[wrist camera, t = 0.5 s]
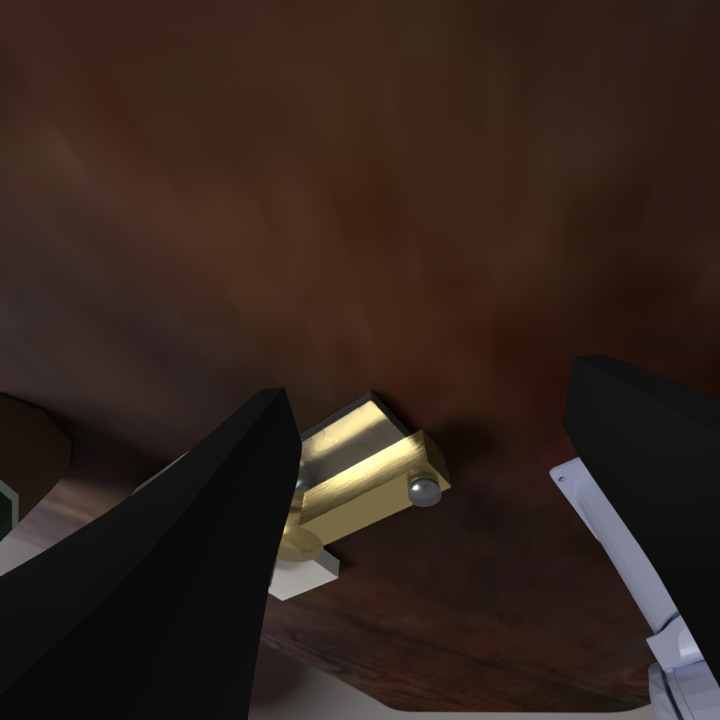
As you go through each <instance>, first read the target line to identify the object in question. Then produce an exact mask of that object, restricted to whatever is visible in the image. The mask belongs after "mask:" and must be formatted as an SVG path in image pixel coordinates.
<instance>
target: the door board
mask: <svg viewBox="0 0 720 720" xmlns="http://www.w3.org/2000/svg"><path fill="white" fill-rule="evenodd" d="M188 452H189V451H188ZM188 452H187V453H188ZM185 454H186V453H185ZM185 454H184V455H185ZM184 455H183V456H184ZM183 456H181V457H183ZM181 457H180V458H181ZM180 458H178V459H177V460H175V461H174V462H173V463H171V464H170V465H168V466H167V467H166V468H164V469H163V470H161V471H160V472H158V473H157V474H156V475H154V476H153V477H151V478H150V479H149V480H147V481H146V482H144V483H143V484H141V485H140V486H139V487H137V488H136V489H135V491H134V492H133V493H132V495H133V494H134V493H135V492H137V491H138V490H140V489H141V488H143V487H144V486H145V485H147V484H148V483H149V482H151V481H152V480H153V479H155V478H156V477H157V476H159V475H160V474H161V473H163V472H164V471H165V470H167V469H168V468H169V467H170V466H172V465H173V464H174V463H175V462H177V461H178V460H179V459H180ZM339 562H340V561H339V560H338V559H336V558H335V557H334V556H332V555H331V554H330V553H328V552H327V551H326V550H324V549H323V551H322V553H321V554H320V555H319V556H318V557H317V558H315V559H313V560H311V561H307V562H289V561H284V560H281V559H279V558H276V561H275V564H274V568H273V573H272V577H271V581H270V585H269V590H268V592H269V593H270V594H272V595H274V596H275V597H277V598H279V599H280V600H282V601H283V600H285V599H288V598H290V597H293V596H295V595H298V594H300V593H303V592H305V591H307V590H310V589H312V588H315V587H317V586H320V585H322V584H324V583H327V582H329V581H332V580H334V579H337V578H338V574H339Z"/></svg>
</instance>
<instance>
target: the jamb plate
mask: <svg viewBox="0 0 720 720" xmlns="http://www.w3.org/2000/svg"><path fill="white" fill-rule="evenodd" d="M410 435H412V434H411V433H410V432H409V431H408V430H407V429H406V427H405V426H404V425H403V424H402V423H401V422H400V421H399V420H398V419H397V418H396V417H395V416H394V414H393V413H392V412H391V411H390V410H389V409H388V408H387V407H386V406H385V405H384V404H383V403H382V401H381V400H380V399H379V398H378V397H377V396H376V395H375V394H374V393H373V392H372V391H369V392H367V393H366V394H364V395H363V396H361V397H359V398H358V399H356V400H355V401H353V402H351V403H350V404H348V405H347V406H345V407H343V408H342V409H340V410H339V411H337V412H335V413H334V414H332V415H331V416H329V417H327V418H326V419H324V420H323V421H321V422H319V423H318V424H316V425H315V426H313V427H311V428H310V429H308V430H306V431H305V432H303V433H302V434H300V435H299V436H300V439H301V442H302V453H301V461H300V468H299V475H298V481H297V485H296V489H295V492H297V491H298V492H307V491H308V490H310V489H312V488H314V487H316V486H318V485H319V484H321V483H323V482H325V481H327V480H329V479H331V478H332V477H334V476H336V475H338V474H340V473H342V472H343V471H345V470H347V469H349V468H351V467H353V466H355V465H356V464H358V463H360V462H362V461H364V460H366V459H367V458H369V457H371V456H373V455H375V454H377V453H378V452H380V451H382V450H384V449H386V448H388V447H390V446H391V445H393V444H395V443H397V442H399V441H401V440H402V439H404V438H406V437H408V436H410Z"/></svg>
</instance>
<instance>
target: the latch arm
mask: <svg viewBox="0 0 720 720" xmlns="http://www.w3.org/2000/svg"><path fill="white" fill-rule="evenodd" d="M450 487H451V483H450V479H449V475H448V470H447V466H446V462H445V458H444V453H443V452H442V451H441V449H440V448H439V447H438V446H437V445H436V444H435V443H434V442H433V441H432V439H431V438H430V437H429V436H428V435H427V434H426V433H425V432H424V431H423V429H421V430H419V431H417V432H415V433H414V434H412V435H410V436H408V437H406V438H404V439H402V440H401V441H399V442H397V443H395V444H393V445H391V446H390V447H388V448H386V449H384V450H382V451H380V452H378V453H377V454H375V455H373V456H371V457H369V458H367V459H366V460H364V461H362V462H360V463H358V464H356V465H355V466H353V467H351V468H349V469H347V470H345V471H343V472H342V473H340V474H338V475H336V476H334V477H332V478H331V479H329V480H327V481H325V482H323V483H321V484H319V485H318V486H316V487H314V488H312V489H310V490H308V491H307V492H298V491H297V492H294V496H293V500H292V503H291V507H290V511H289V514H288V518H287V521H286V525H285V529H284V532H283V536H282V539H281V543H280V547H279V550H278V554H277V557H276V558H279V559H281V560H284V561H289V562H307V561H311V560H313V559H315V558H317V557H318V556H319V555H320V554H321V553H322V551H323V546H324V545H326V544H328V543H331V542H333V541H335V540H337V539H339V538H341V537H344V536H346V535H348V534H350V533H352V532H355V531H357V530H359V529H361V528H363V527H365V526H368V525H370V524H372V523H374V522H376V521H378V520H381V519H383V518H385V517H387V516H389V515H392V514H394V513H396V512H398V511H400V510H402V509H405V508H407V507H409V506H411V505H413V504H414V505H417V506H421V507H428V506H432V505H434V504H436V503H438V502H439V501H440V499H441V492H442V491H444V490H446V489H448V488H450Z"/></svg>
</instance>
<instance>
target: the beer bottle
mask: <svg viewBox="0 0 720 720" xmlns="http://www.w3.org/2000/svg"><path fill="white" fill-rule="evenodd" d="M71 449H72V439H71V438H70V437H69V436H68V435H67V434H66V433H65V431H64V430H63V429H62V428H61V427H60V426H59V425H58V424H57V423H56V422H55V421H54V420H53V419H52V418H51V417H50V416H49V415H48V414H47V413H46V412H45V411H44V410H43V409H41V408H38V407H36V406H33V405H30V404H27V403H24V402H22V401H19V400H16V399H13V398H10V397H8V396H5V395H2V394H0V541H1V540H2V539H3V538H4V537H5V536H6V535H7V534H8V533H9V532H10V531H11V530H12V529H13V528H14V527H15V526H16V525H17V524H18V523H19V522H20V521H21V520H22V519H23V518H24V517H25V516H26V515H27V514H28V513H29V512H30V511H31V510H32V509H33V508H34V507H35V506H36V505H37V504H38V503H39V502H40V501H41V500H42V499H43V498H44V497H45V496H46V495H47V494H48V493H49V492H50V491H51V489H52V488H53V487H54V486H55V485H56V484H57V483H58V481H59V480H60V479H61V478H62V477H63V476H64V475H65V474H66V472H67V471H68V469H69V466H70V458H71Z"/></svg>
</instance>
